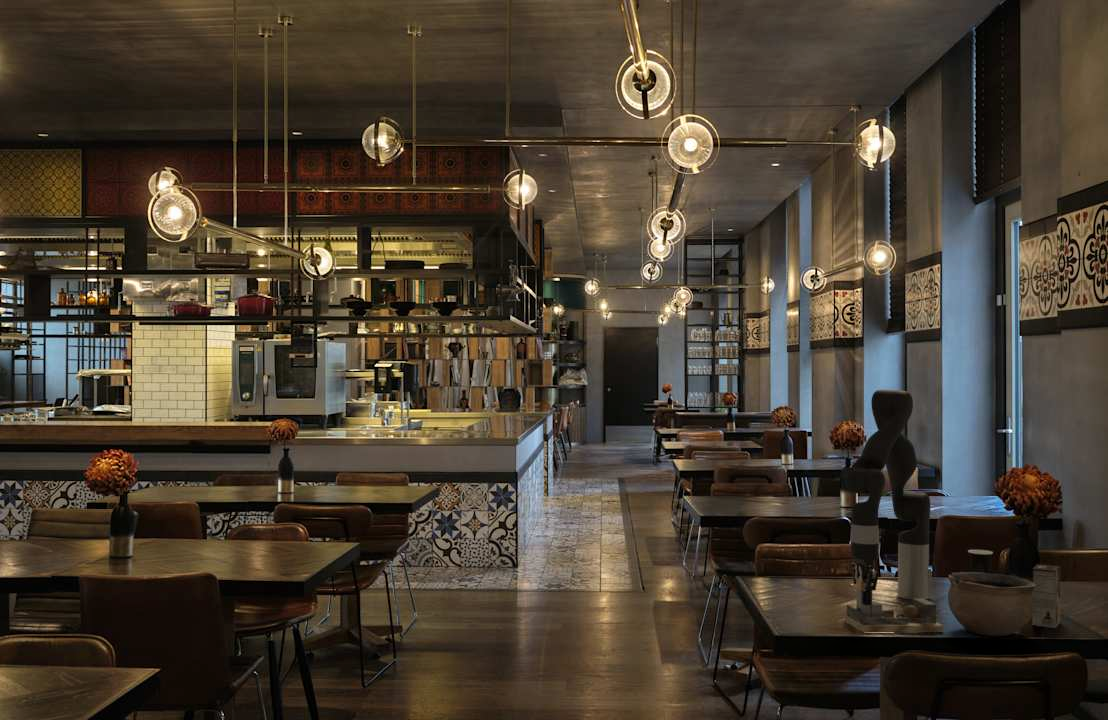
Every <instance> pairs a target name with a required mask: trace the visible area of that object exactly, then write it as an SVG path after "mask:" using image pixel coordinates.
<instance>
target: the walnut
mask: <svg viewBox="0 0 1108 720" xmlns="http://www.w3.org/2000/svg"><path fill="white" fill-rule="evenodd" d="M902 614H903V615H904V616H905V617H907V618H917V616H918V610H917V608H916V607H915V606H913V604H908V605H906V606H904V607H903V609H902Z"/></svg>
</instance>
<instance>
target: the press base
mask: <svg viewBox="0 0 1108 720" xmlns="http://www.w3.org/2000/svg"><path fill="white" fill-rule="evenodd" d="M912 605H913V606H915V607H916V608H917V610H918V616H917V618H907V617H905V616H904V615H903V613H895V610H893V609H882V616H883V617H884V618H866V614H865V613H863V612H861V611H859V610H858V609H856V607H854V606H852V605H850V604H846V614H845V615H844V622H845V621H847V622H848V623H850V624H851V625H853V626H855V627H856V628H858V629H860V630H862V631H863V632H894V633H893V634H919V633H918V632H943V633H944V625H943V624H941V623H940V622H937V604H936V603H934V602H932V601H930V600H928V599H926V600H925V599H923V598H921V599H913V600H912ZM848 623H847V624H848ZM850 624H849V625H850ZM851 625H850V626H851ZM853 626H852V627H853ZM855 627H854V628H855ZM856 628H855V629H856ZM858 629H857V630H858ZM860 630H859V631H860ZM863 632H862V633H863Z"/></svg>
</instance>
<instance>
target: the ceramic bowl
mask: <svg viewBox="0 0 1108 720" xmlns="http://www.w3.org/2000/svg"><path fill="white" fill-rule="evenodd" d="M948 579H949V582H950V586H949V589H948V591H947V592H948V593H947V601H948V606H949V609H950V612H951V613H952V615H953V616H954V618H955V619H956V621H957V622H958V623H959V625H961V626H962V627H963V628H964V629H966V630H967V631H969V632H971V633H973V634H976V635H981V636H987V637H1004V636H1011V635H1013V634H1016V633H1018V631H1020V630H1021V629H1022V628H1023V627H1024V626H1026V625H1027V624H1028V623H1030V621H1031V619H1032V615H1033V613H1034V598H1033V595H1032V592H1033V590H1034V588H1035V586H1036V585H1035V584H1034V583H1032V581H1030V580H1029V579H1026V578H1022V577H1017V576H1012V575H1007V574H999V573H990V574H988V573H982V572H971V571H968V572H967V571H959V572H958V571H957V572H952V573H951V574H948Z"/></svg>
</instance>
